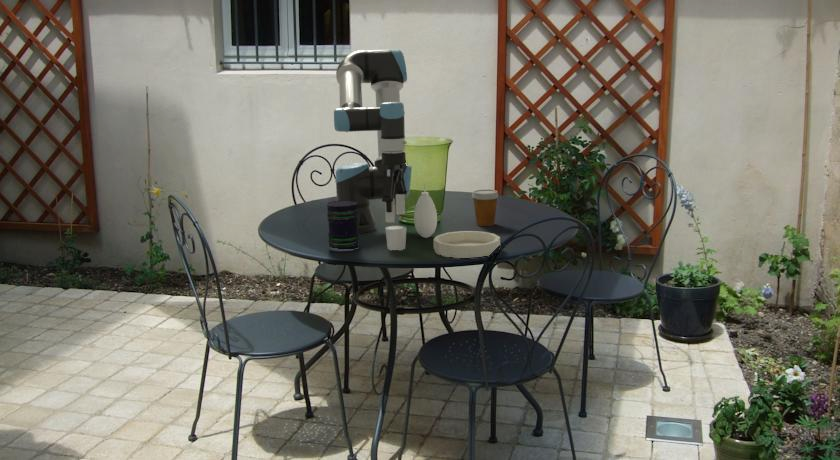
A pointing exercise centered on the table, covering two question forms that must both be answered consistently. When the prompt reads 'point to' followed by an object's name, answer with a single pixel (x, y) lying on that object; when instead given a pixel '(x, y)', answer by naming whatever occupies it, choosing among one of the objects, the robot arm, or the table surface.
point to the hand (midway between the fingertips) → (395, 218)
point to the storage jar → (343, 224)
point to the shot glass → (396, 237)
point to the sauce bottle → (425, 215)
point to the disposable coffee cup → (485, 206)
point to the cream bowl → (466, 244)
